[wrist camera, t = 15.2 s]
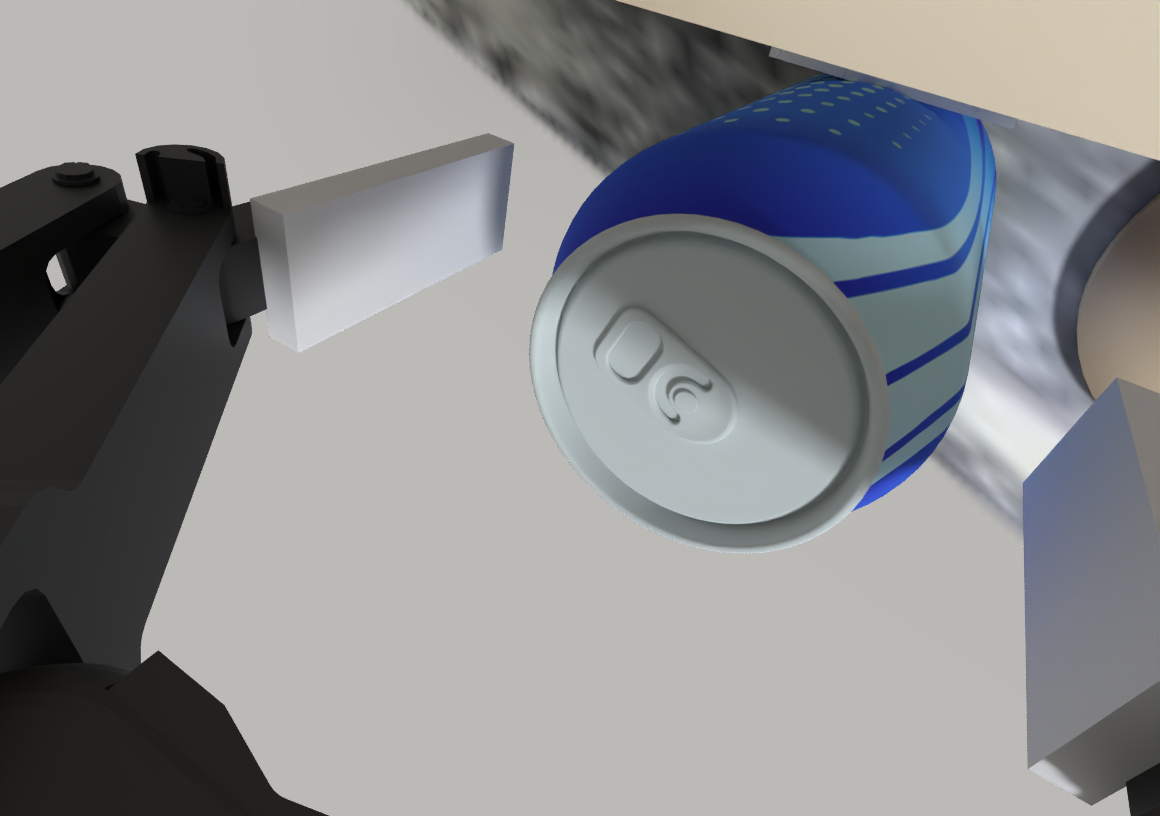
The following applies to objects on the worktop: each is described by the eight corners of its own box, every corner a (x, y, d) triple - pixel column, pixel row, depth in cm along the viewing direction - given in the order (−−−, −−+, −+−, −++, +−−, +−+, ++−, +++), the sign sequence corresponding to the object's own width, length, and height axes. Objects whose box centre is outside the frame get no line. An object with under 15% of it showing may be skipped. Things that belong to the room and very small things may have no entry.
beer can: (990, 17, 19) (931, 69, 7) (1003, 289, 22) (977, 627, 10) (720, 103, 24) (429, 216, 12) (763, 315, 27) (564, 566, 15)
